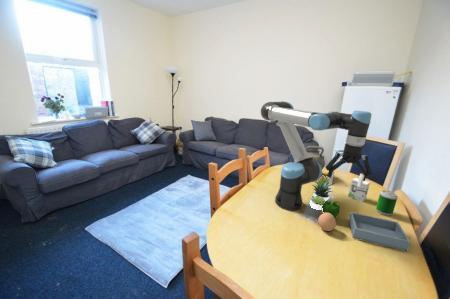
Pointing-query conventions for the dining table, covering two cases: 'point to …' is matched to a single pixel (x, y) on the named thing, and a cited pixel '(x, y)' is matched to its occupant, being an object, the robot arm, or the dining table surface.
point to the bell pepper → (331, 208)
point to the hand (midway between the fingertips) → (344, 184)
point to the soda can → (386, 202)
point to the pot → (316, 155)
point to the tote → (378, 231)
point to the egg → (327, 221)
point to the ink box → (358, 190)
